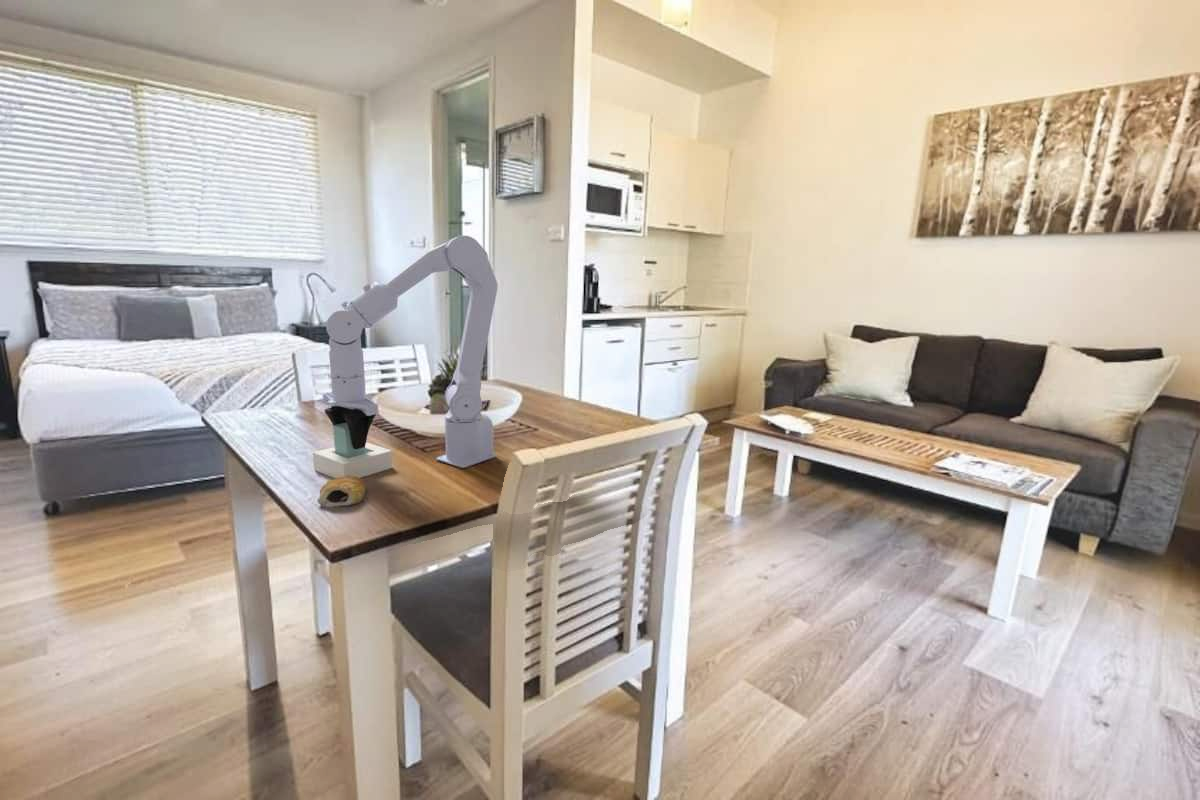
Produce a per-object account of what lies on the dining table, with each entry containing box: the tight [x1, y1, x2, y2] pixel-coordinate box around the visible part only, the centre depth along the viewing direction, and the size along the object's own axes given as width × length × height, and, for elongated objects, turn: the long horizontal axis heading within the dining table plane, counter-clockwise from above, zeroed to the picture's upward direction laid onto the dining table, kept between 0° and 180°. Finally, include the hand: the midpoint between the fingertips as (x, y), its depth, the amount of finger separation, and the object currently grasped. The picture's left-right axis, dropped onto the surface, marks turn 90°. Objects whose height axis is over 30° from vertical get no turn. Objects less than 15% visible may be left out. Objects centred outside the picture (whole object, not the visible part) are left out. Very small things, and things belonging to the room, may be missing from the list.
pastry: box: [317, 476, 366, 508], centre depth 96 cm, size 9×7×4 cm
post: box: [332, 423, 366, 458], centre depth 108 cm, size 4×4×8 cm
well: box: [312, 441, 394, 479], centre depth 109 cm, size 10×10×4 cm
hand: (352, 445), depth 108 cm, fingers closed on post, 4 cm apart
